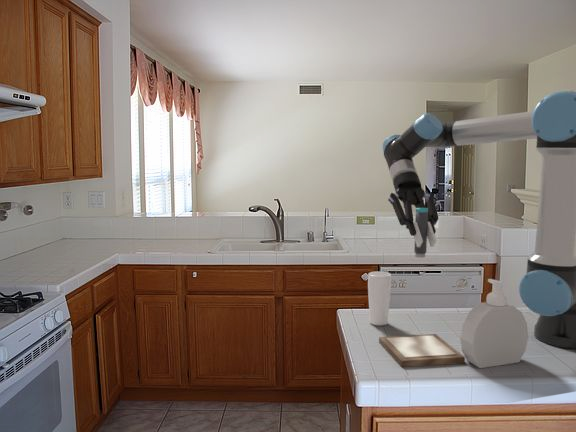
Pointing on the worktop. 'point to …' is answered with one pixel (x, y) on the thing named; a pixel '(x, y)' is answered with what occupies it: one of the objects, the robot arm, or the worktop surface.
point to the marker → (421, 231)
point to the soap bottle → (494, 331)
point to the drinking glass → (379, 297)
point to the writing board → (420, 350)
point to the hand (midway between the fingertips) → (426, 244)
